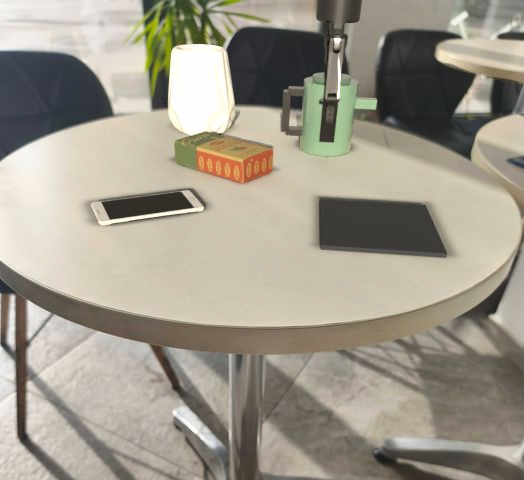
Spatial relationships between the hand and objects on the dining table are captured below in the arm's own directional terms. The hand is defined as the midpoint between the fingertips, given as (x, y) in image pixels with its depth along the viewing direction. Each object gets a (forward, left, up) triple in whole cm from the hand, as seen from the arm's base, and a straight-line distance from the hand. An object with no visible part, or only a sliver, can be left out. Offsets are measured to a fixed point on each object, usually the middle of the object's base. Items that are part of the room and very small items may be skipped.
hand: (326, 133), depth 96 cm
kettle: (0, 0, -3) cm, 3 cm away
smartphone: (+26, +35, -3) cm, 44 cm away
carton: (+18, +15, -3) cm, 24 cm away
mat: (-7, +36, -3) cm, 37 cm away
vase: (+26, -9, -3) cm, 28 cm away
